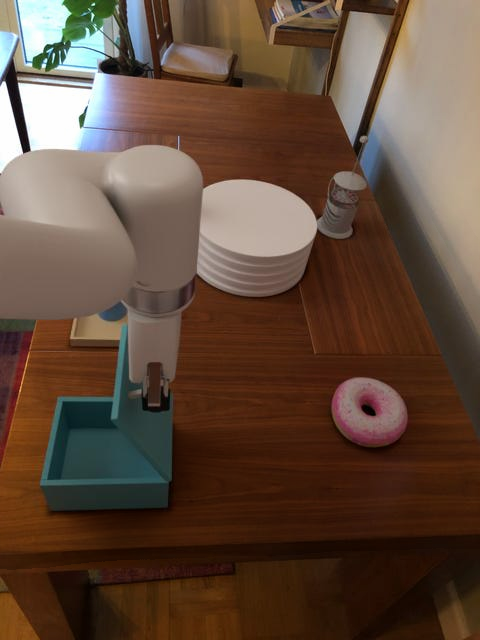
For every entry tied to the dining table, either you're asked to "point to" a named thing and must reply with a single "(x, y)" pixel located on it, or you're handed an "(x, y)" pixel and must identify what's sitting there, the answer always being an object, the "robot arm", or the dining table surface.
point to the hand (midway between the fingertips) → (157, 384)
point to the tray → (97, 331)
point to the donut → (363, 426)
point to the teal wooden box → (96, 462)
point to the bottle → (114, 312)
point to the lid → (141, 416)
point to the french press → (342, 203)
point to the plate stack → (253, 237)
